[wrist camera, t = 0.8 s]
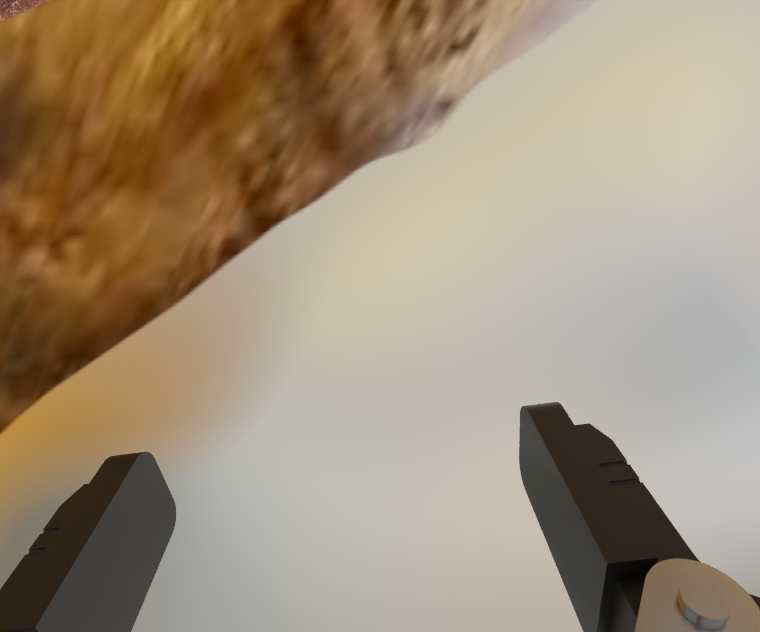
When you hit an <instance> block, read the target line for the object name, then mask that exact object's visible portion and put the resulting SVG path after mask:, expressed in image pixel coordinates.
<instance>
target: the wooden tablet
mask: <svg viewBox="0 0 760 632" xmlns="http://www.w3.org/2000/svg"><path fill="white" fill-rule="evenodd" d="M48 1H51V0H0V21H3V20H5V19H8V18H10V17H12V16H15V15H17V14H19V13H22V12H24V11H26V10H28V9H32V8H35V7H37V6H39V5H41V4H43V3H45V2H48Z"/></svg>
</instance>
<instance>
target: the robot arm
mask: <svg viewBox="0 0 760 632" xmlns="http://www.w3.org/2000/svg"><path fill="white" fill-rule="evenodd" d="M519 452H520V453H519V463H520V470H521V476H522V480H523V484H524V487H525V490H526V492H527V495H528V497H529V500H530V502H531V505H532V507H533V510H534V512H535V514H536V517H537V519H538V522H539V524H540V527H541V529H542V531H543V534H544V536H545V539H546V541H547V543H548V546H549V548H550V551H551V553H552V556H553V558H554V561H555V563H556V566H557V568H558V571H559V573H560V575H561V578H562V580H563V582H564V585H565V588H566V590H567V592H568V595H569V597H570V600H571V602H572V605H573V607H574V609H575V612H576V614H577V617H578V619H579V621H580V624H581V626H582V629H583V631H584V632H760V598H759V597H756V596H753V595H751V594H748V593H747V592H746V591H745V590H744V589H743V588H742V587H741V586H740V585H739V584H738V583H737V582H736V581H734V580H733V579H731V578H730V577H729V576H727V575H726V574H724V573H722V572H721V571H719V570H717V569H715V568H713V567H711V566H709V565H706V564H704V563H701V562H700V561H699V560H698V559H697V558H696V556H695V555H694V554H693V553H692V551H691V550H690V548H689V547H688V546H687V544H686V543H685V541H684V540H683V539H682V537H681V536H680V534H679V533H678V532H677V530H676V529H675V528H674V526H673V525H672V523H671V522H670V520H669V519H668V518H667V516H666V515H665V513H664V512H663V511H662V509H661V508H660V506H659V505H658V504H657V502H656V501H655V500H654V498H653V497H652V495H651V494H650V493H649V491H648V490H647V488H646V487H645V486H644V484H643V483H640V481H639V477H638V476H637V474H636V473H635V472H634V470H633V469H632V467H631V466H630V465H628V464H627V461H626V459H625V457H624V456H623V455H622V453H621V452H620V450H619V449H618V448H617V446H616V445H615V444H614V442H613V441H612V440H611V439H610V438H609V437H607V436H606V435H604V434H603V433H602V432H600V431H599V430H597V429H596V428H595V427H593V426H592V425H591V424H582V425H574V424H573V422H572V421H571V419H570V418H569V417H568V414H567V413H566V412H565V410H564V408H563V407H562V405H561V404H560V403H558V402H553V403H545V404H537V405H529V406H523V407H522V408H521V411H520V449H519ZM175 521H176V507H175V502H174V499H173V497H172V495H171V493H170V491H169V488H168V486H167V484H166V482H165V480H164V478H163V475H162V473H161V471H160V469H159V467H158V465H157V463H156V460H155V458H154V457H153V455H152V454H151V453H149V452H141V453H133V454H125V455H117V456H111V457H109V458H108V459H106V460H105V462H104V463H103V464H102V466H101V467H100V469H99V470H98V472H97V473H96V475H95V476H94V477H93V479H92V480H91V482H90V483H89V484H84V485H83V486H82V487H81V488H80V489H79V490H78V491H76V492H75V493H74V494H73V495H72V496H71V497H70V498H69V499H67V500H66V501H65V502H64V503H63V504H62V505H61V506H60V507H59V508H58V510H57V511H56V513H55V514H54V515H53V517H52V518H51V520H50V521H49V522H48V524H47V525H46V526H45V528H44V533H43V534H40V535H39V536H38V538H37V539H36V541H35V542H34V543H33V545H32V546H31V547H30V549H29V554H27V555H25V556H24V557H23V559H22V560H21V561H20V563H19V564H18V566H17V567H16V569H15V570H14V571H13V573H12V574H11V575H10V577H9V578H8V580H7V581H6V582H5V584H4V585H3V587H2V588H1V589H0V632H131V630H132V628H133V625H134V623H135V621H136V618H137V616H138V614H139V611H140V609H141V606H142V604H143V602H144V599H145V597H146V595H147V592H148V589H149V587H150V585H151V583H152V580H153V578H154V576H155V573H156V571H157V568H158V566H159V563H160V561H161V559H162V556H163V554H164V552H165V549H166V547H167V544H168V542H169V540H170V537H171V535H172V533H173V530H174V526H175Z"/></svg>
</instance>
